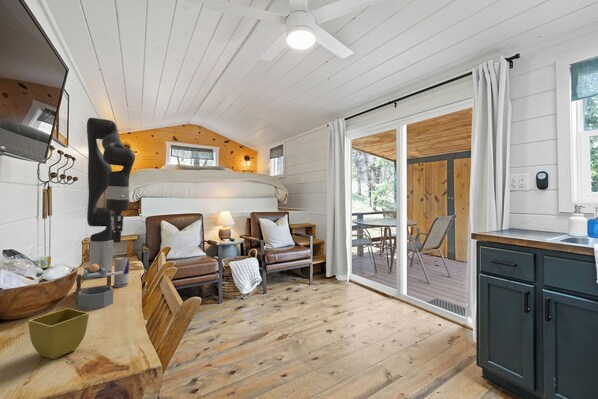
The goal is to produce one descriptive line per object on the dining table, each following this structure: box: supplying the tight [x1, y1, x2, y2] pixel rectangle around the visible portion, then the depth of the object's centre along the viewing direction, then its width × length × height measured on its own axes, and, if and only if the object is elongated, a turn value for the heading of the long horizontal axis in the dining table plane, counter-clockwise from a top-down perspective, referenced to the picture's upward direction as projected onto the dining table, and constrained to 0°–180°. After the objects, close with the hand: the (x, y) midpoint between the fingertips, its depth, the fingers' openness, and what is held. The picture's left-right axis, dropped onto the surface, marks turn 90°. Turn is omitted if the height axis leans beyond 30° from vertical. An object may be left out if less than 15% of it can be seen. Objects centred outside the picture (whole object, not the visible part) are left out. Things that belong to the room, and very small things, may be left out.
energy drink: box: [113, 256, 130, 288], centre depth 122 cm, size 5×5×12 cm
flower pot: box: [27, 307, 90, 360], centre depth 69 cm, size 9×9×9 cm
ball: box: [88, 264, 99, 273], centre depth 113 cm, size 4×4×4 cm
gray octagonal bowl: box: [77, 285, 114, 311], centre depth 100 cm, size 10×10×5 cm
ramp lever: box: [81, 265, 123, 280], centre depth 111 cm, size 14×13×5 cm
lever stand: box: [75, 271, 112, 305], centre depth 109 cm, size 17×11×9 cm, turn 39°
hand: (116, 241), depth 109 cm, fingers open, 6 cm apart
